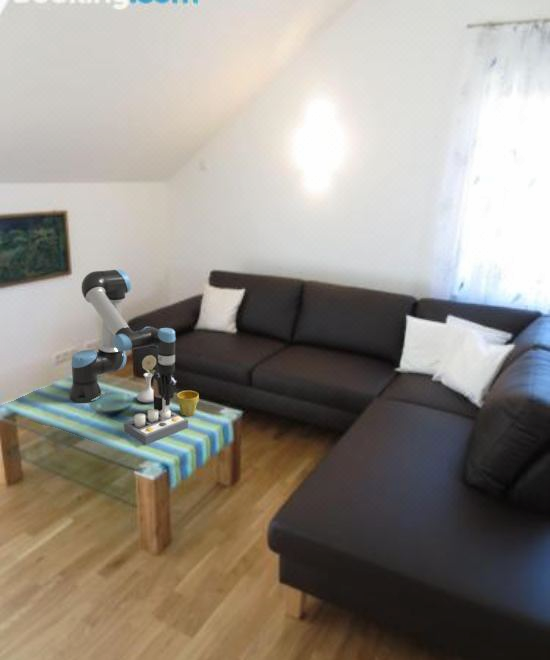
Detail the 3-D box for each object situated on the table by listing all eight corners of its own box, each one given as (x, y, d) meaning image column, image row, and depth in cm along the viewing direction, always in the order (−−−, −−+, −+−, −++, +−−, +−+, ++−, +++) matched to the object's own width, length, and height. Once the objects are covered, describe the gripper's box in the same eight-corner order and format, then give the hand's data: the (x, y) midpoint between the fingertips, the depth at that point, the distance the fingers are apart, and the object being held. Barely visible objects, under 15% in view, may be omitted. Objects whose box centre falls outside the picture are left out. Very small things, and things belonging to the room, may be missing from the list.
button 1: (132, 425, 217) (132, 415, 216) (141, 422, 221) (141, 412, 220) (138, 429, 215) (138, 419, 213) (147, 426, 218) (147, 415, 217)
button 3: (158, 421, 229) (158, 411, 227) (166, 418, 232) (166, 408, 231) (164, 424, 226) (164, 414, 224) (172, 421, 229) (172, 411, 228)
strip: (139, 431, 212) (139, 429, 212) (178, 416, 228) (178, 415, 228) (145, 434, 209) (145, 433, 209) (184, 419, 225) (184, 418, 225)
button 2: (145, 421, 223) (145, 410, 221) (154, 418, 226) (154, 408, 225) (152, 424, 220) (152, 414, 219) (160, 421, 223) (160, 411, 222)
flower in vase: (132, 398, 252) (132, 352, 246) (152, 393, 260) (152, 348, 253) (145, 407, 243) (145, 359, 237) (165, 402, 251) (166, 355, 244)
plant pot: (173, 415, 237) (173, 396, 235) (182, 407, 247) (182, 389, 244) (193, 419, 235) (193, 400, 232) (201, 410, 245) (202, 392, 242)
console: (123, 431, 219) (123, 423, 218) (165, 416, 236) (165, 408, 235) (145, 445, 209) (145, 436, 208) (187, 428, 226) (188, 420, 225)
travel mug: (155, 415, 236) (155, 376, 231) (151, 408, 242) (151, 370, 237) (171, 413, 240) (171, 374, 234) (166, 406, 246) (167, 369, 241)
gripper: (150, 360, 222) (150, 408, 229) (168, 368, 214) (168, 418, 221) (163, 357, 228) (163, 404, 234) (182, 364, 220) (181, 413, 226)
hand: (165, 410), depth 227 cm, fingers closed
